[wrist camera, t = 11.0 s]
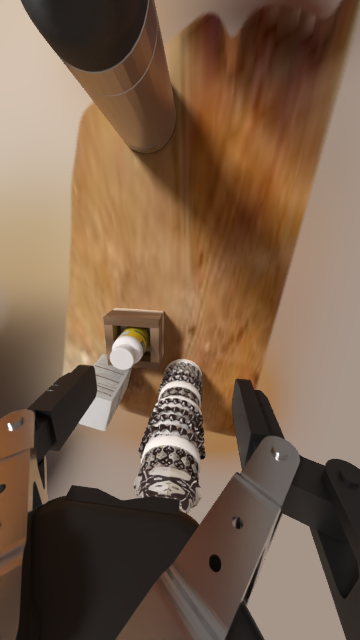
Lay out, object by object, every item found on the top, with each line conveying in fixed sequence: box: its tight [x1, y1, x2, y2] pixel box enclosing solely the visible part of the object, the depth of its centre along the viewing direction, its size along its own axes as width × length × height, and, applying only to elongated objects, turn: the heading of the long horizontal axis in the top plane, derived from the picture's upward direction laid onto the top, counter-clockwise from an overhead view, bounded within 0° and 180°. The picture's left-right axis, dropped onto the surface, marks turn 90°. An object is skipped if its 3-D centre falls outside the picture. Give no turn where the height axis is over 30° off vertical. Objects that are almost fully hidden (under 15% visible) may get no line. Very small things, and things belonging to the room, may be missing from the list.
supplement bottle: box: [110, 326, 150, 370], centre depth 39 cm, size 5×5×10 cm
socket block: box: [103, 308, 164, 369], centre depth 42 cm, size 10×10×6 cm
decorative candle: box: [134, 359, 205, 514], centre depth 35 cm, size 9×9×25 cm
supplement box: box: [79, 354, 132, 431], centre depth 43 cm, size 7×7×13 cm
